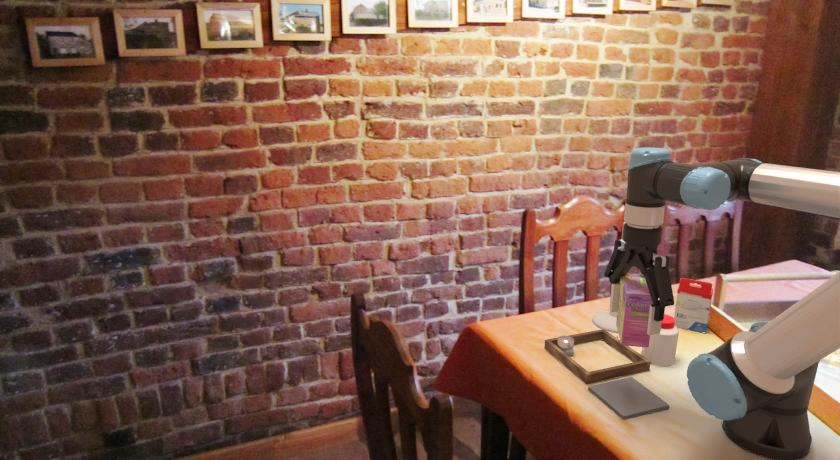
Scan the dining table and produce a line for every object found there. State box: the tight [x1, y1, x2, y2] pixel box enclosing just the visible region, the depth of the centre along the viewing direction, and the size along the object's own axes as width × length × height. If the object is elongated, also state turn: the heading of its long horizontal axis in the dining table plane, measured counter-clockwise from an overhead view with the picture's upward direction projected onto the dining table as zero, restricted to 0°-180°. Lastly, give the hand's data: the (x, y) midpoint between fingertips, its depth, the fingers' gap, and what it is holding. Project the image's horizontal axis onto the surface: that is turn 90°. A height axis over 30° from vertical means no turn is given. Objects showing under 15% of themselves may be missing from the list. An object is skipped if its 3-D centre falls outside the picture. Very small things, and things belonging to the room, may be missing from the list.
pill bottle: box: [640, 313, 680, 367], centre depth 142 cm, size 8×8×11 cm
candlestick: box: [591, 221, 627, 334], centre depth 159 cm, size 13×13×30 cm
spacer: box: [557, 335, 575, 358], centre depth 146 cm, size 4×4×4 cm
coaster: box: [587, 376, 670, 421], centre depth 127 cm, size 12×12×1 cm
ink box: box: [673, 277, 714, 334], centre depth 159 cm, size 8×5×15 cm, turn 58°
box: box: [616, 275, 653, 348], centre depth 123 cm, size 10×6×12 cm, turn 167°
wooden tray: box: [544, 328, 652, 385], centre depth 143 cm, size 18×18×2 cm
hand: (633, 321), depth 124 cm, fingers closed on box, 12 cm apart
